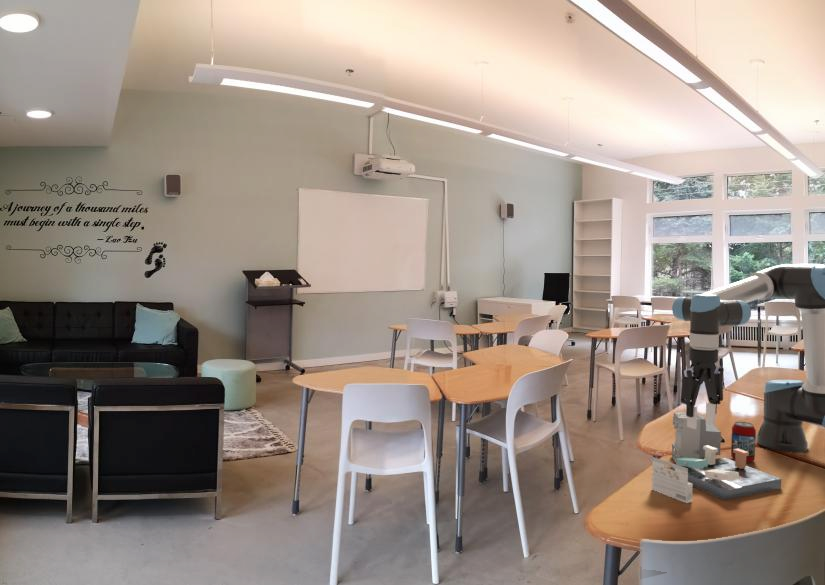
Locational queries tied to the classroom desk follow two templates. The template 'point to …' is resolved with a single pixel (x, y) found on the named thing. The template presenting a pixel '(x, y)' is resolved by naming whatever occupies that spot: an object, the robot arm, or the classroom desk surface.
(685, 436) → the circuit breaker
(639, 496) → the classroom desk surface
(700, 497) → the classroom desk surface
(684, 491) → the ink cartridge box
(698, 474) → the panel
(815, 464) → the classroom desk surface
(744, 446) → the beverage can
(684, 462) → the rocker teal
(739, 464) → the slider rust
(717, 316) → the robot arm
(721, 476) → the rocker ivory
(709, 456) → the slider ivory
